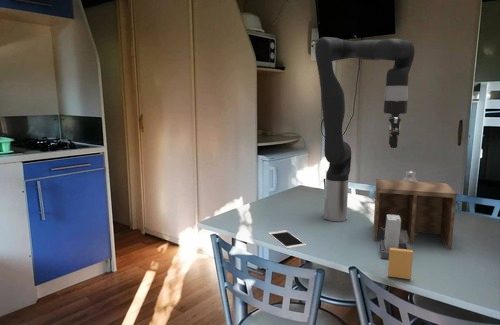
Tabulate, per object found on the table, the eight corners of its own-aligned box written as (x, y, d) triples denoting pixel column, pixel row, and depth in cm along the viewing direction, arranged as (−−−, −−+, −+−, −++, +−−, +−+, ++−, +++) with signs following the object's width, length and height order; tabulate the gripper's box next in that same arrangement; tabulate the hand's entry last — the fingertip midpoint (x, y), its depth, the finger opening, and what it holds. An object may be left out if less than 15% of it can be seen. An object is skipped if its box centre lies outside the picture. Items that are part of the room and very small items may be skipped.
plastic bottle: (417, 218, 158) (421, 172, 155) (401, 217, 159) (404, 172, 156) (414, 213, 164) (417, 169, 161) (398, 212, 166) (401, 169, 162)
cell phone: (285, 231, 143) (285, 229, 143) (306, 246, 128) (306, 244, 128) (267, 234, 140) (267, 232, 140) (287, 249, 125) (287, 248, 125)
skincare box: (383, 247, 126) (385, 213, 124) (397, 249, 125) (399, 214, 123) (384, 254, 121) (386, 219, 119) (398, 256, 119) (401, 220, 117)
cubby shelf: (373, 240, 132) (377, 188, 129) (373, 226, 147) (376, 179, 144) (451, 249, 125) (456, 193, 122) (442, 233, 140) (447, 183, 137)
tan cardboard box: (382, 276, 105) (384, 248, 104) (380, 245, 128) (381, 222, 126) (416, 280, 102) (418, 252, 101) (408, 248, 125) (409, 225, 124)
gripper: (383, 99, 134) (380, 143, 137) (385, 99, 121) (382, 148, 124) (405, 99, 132) (402, 144, 135) (409, 99, 119) (406, 149, 121)
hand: (392, 146), depth 129 cm, fingers open, 8 cm apart
